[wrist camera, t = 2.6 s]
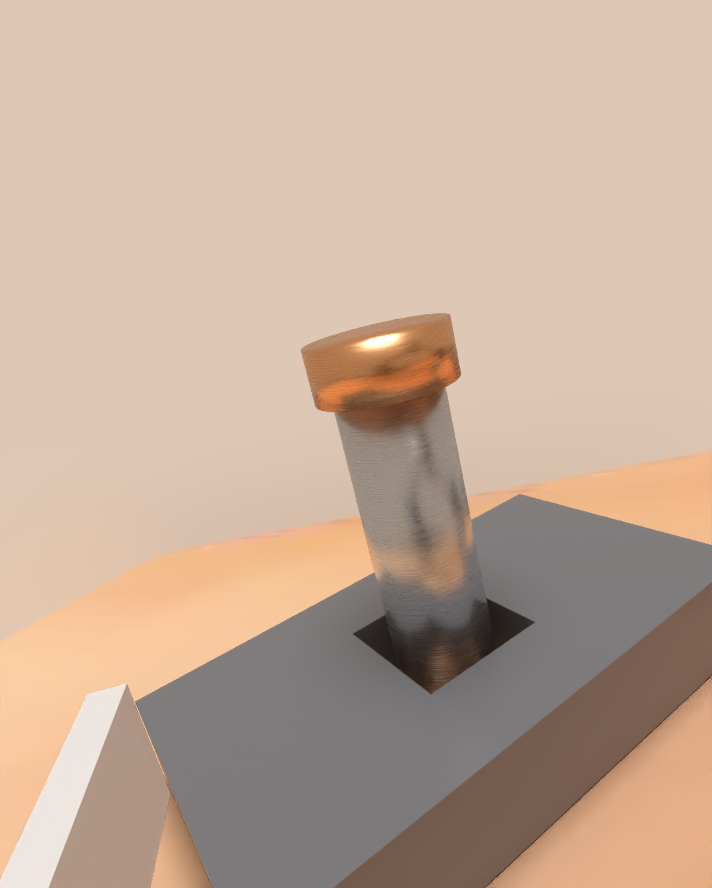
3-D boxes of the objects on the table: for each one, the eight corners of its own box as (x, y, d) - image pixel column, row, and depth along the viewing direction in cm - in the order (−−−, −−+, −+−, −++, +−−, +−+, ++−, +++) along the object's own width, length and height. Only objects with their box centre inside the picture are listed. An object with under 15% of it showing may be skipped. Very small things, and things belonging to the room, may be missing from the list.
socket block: (529, 556, 35) (519, 494, 34) (750, 638, 25) (746, 554, 24) (166, 779, 25) (135, 701, 24) (288, 1071, 15) (243, 960, 14)
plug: (462, 652, 28) (391, 317, 24) (549, 707, 24) (483, 309, 19) (373, 711, 26) (276, 352, 21) (452, 784, 22) (350, 352, 17)
